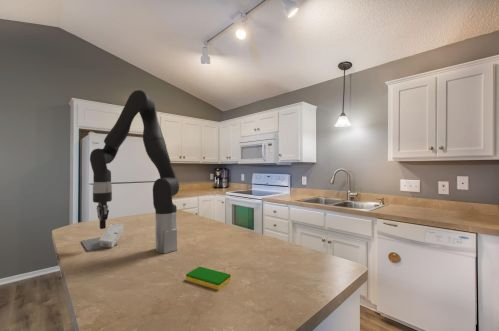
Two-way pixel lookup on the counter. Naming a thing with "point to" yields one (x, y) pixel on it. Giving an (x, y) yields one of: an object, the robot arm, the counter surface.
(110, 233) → the skincare box
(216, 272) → the dish sponge
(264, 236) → the counter surface
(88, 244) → the mat
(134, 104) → the robot arm
